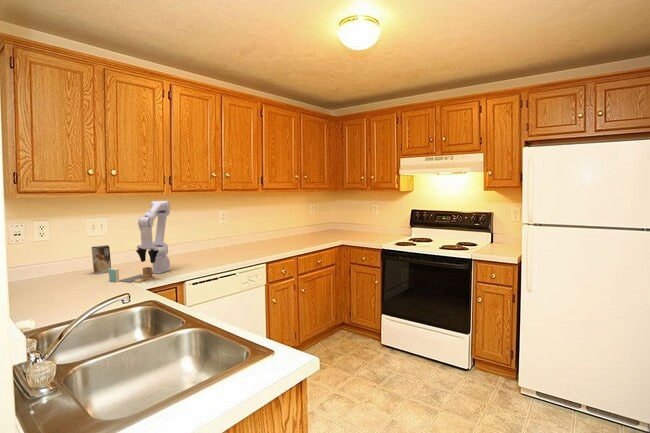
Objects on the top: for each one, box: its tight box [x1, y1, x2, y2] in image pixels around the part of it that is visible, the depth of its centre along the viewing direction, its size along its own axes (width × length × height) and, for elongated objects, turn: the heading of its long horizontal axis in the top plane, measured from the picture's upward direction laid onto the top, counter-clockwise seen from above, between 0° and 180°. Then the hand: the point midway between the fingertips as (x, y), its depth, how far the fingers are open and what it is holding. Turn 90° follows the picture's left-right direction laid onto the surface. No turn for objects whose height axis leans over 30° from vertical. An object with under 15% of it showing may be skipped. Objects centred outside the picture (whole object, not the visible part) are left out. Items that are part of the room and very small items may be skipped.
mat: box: [119, 274, 143, 283], centre depth 209 cm, size 14×9×1 cm, turn 155°
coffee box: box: [91, 244, 112, 275], centre depth 225 cm, size 9×6×16 cm
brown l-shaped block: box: [133, 266, 155, 284], centre depth 205 cm, size 9×4×7 cm, turn 155°
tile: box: [108, 267, 120, 283], centre depth 204 cm, size 2×6×7 cm, turn 65°
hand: (148, 262), depth 208 cm, fingers open, 7 cm apart
